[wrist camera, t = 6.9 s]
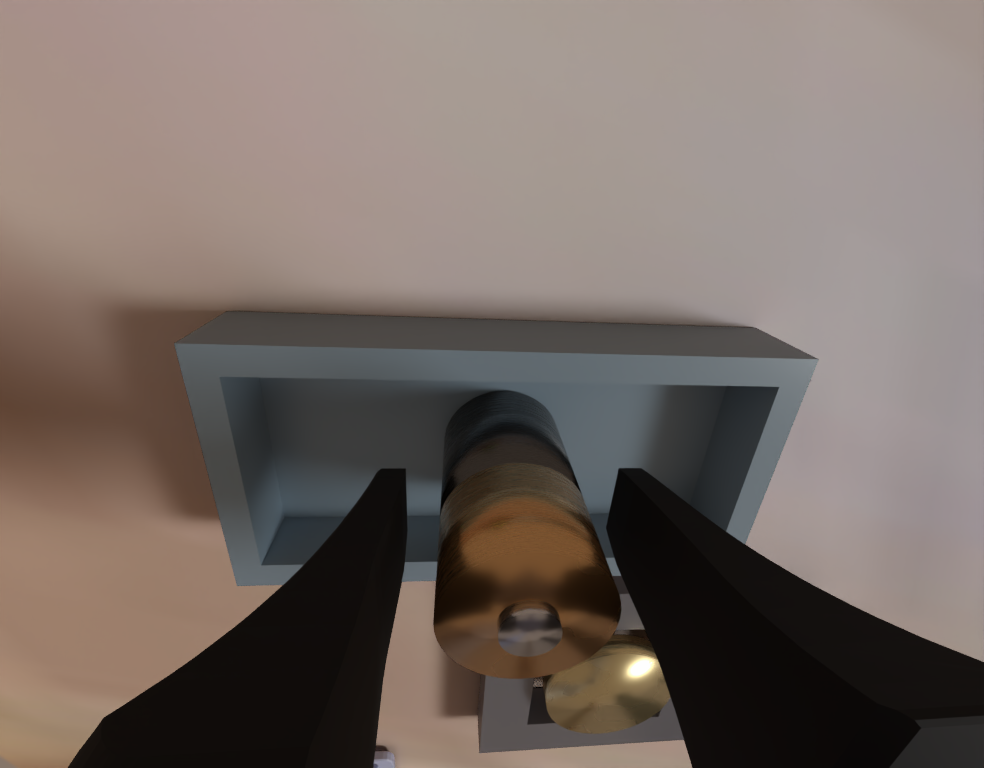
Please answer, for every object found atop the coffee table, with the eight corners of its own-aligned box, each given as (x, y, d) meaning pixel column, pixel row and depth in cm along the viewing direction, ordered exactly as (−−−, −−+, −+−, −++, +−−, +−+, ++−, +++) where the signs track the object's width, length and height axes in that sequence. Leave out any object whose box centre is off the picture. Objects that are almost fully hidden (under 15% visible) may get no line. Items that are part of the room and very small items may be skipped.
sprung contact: (536, 716, 19) (540, 737, 19) (550, 637, 17) (554, 657, 16) (650, 709, 20) (658, 729, 19) (678, 632, 18) (688, 651, 17)
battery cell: (444, 487, 15) (433, 697, 9) (444, 390, 13) (431, 567, 7) (551, 486, 15) (609, 690, 9) (564, 391, 13) (643, 564, 8)
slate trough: (269, 523, 15) (237, 585, 13) (227, 310, 12) (174, 343, 10) (694, 517, 17) (733, 572, 15) (756, 327, 14) (818, 359, 11)
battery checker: (477, 716, 21) (481, 794, 19) (488, 564, 17) (495, 637, 14) (758, 700, 23) (800, 771, 20) (833, 556, 19) (898, 621, 16)
